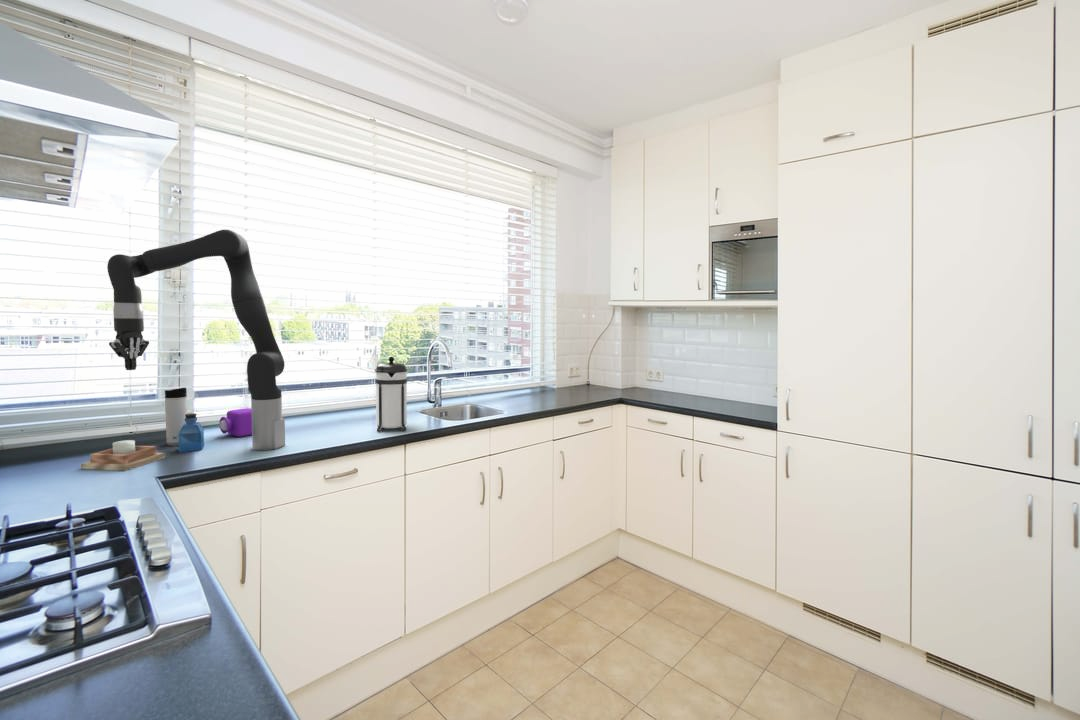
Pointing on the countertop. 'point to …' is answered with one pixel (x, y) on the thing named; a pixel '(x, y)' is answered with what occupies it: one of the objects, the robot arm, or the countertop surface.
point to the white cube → (124, 447)
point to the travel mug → (175, 414)
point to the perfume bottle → (191, 435)
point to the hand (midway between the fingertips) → (131, 369)
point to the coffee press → (391, 395)
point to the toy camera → (237, 422)
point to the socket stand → (122, 459)
